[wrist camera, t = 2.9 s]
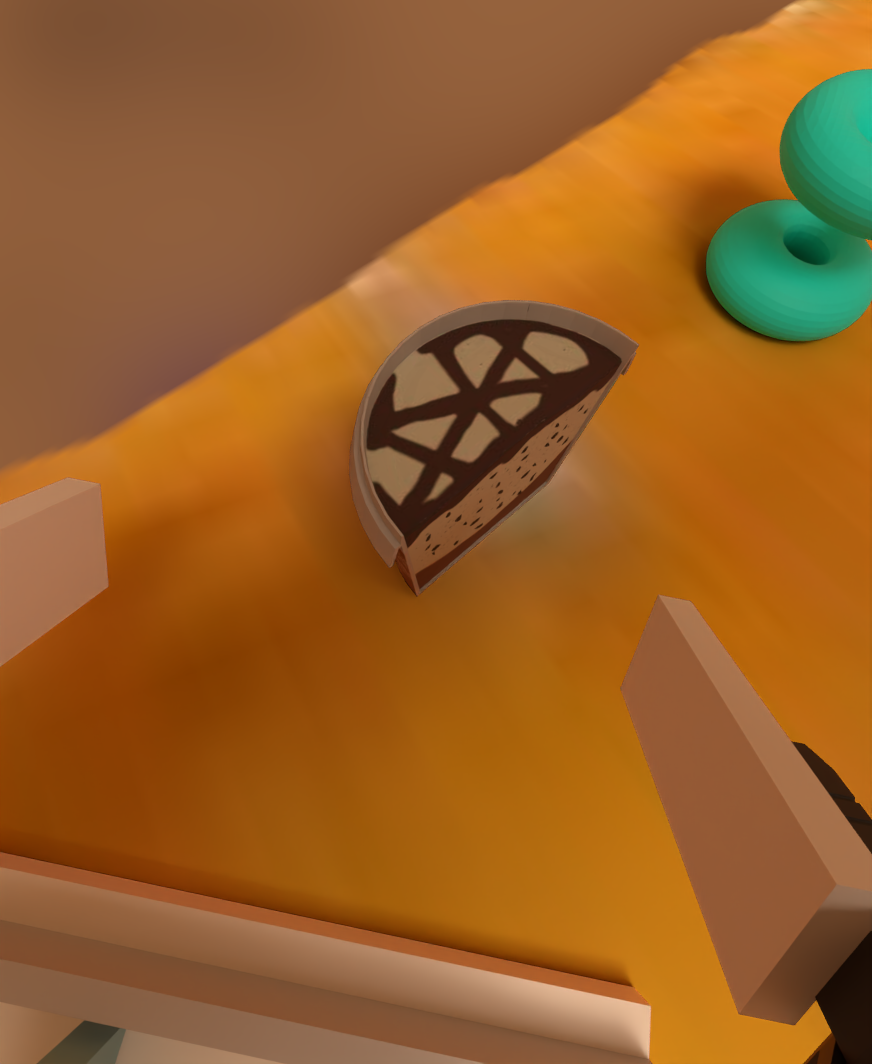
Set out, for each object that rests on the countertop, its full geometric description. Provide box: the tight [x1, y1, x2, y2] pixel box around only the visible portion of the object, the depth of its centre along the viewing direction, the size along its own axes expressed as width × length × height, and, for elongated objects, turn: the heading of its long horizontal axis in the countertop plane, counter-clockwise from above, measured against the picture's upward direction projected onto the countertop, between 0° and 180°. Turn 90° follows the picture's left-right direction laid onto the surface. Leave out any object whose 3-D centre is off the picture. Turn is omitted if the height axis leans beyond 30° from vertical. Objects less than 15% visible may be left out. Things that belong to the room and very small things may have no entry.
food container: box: [349, 300, 639, 596], centre depth 23 cm, size 12×6×10 cm, turn 132°
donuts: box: [706, 69, 872, 341], centre depth 29 cm, size 10×10×10 cm
